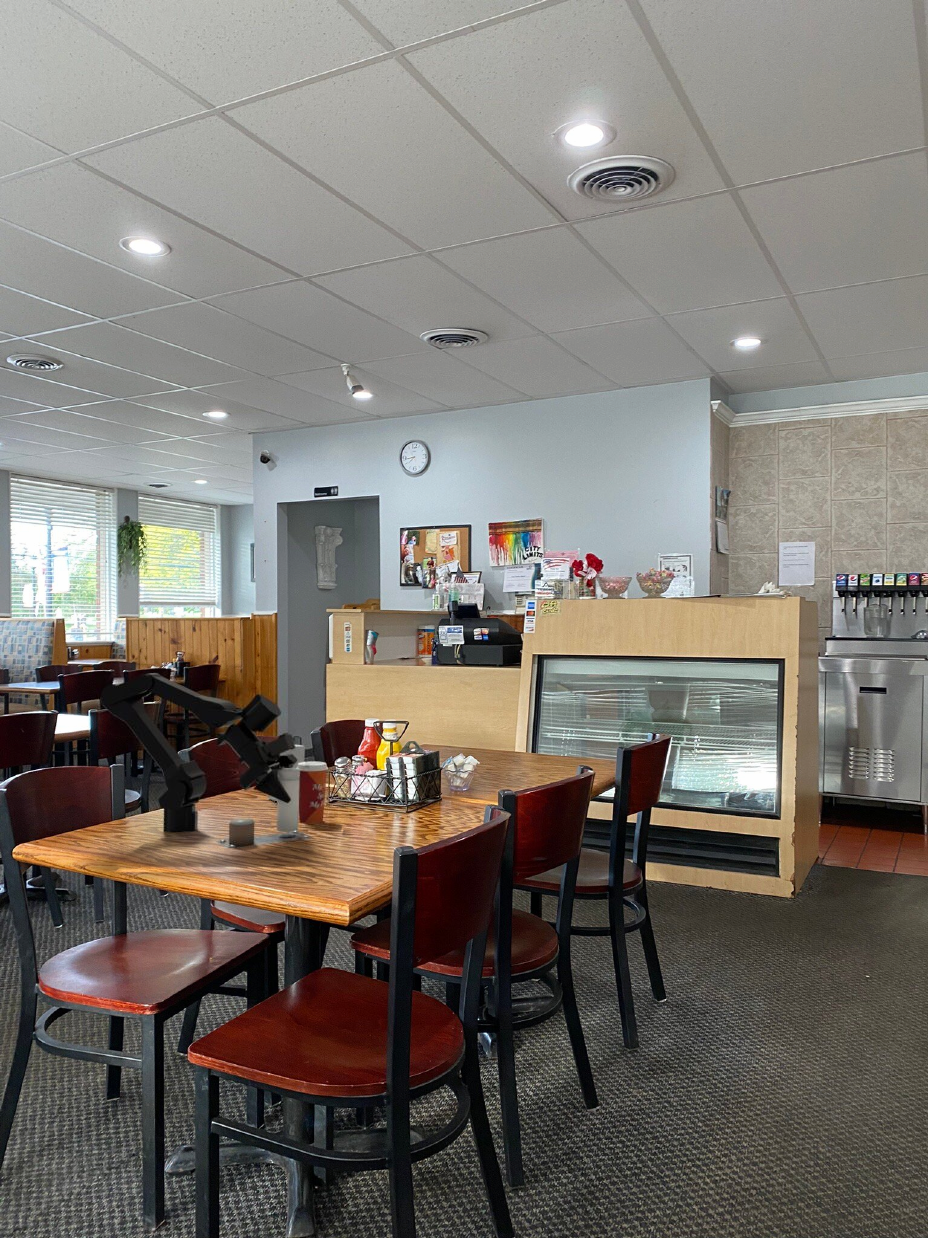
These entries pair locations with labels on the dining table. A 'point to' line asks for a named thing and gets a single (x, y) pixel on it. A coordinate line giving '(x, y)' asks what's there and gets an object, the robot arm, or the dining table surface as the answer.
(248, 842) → the grey short cylinder
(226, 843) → the plate
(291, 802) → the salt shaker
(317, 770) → the paper cup
